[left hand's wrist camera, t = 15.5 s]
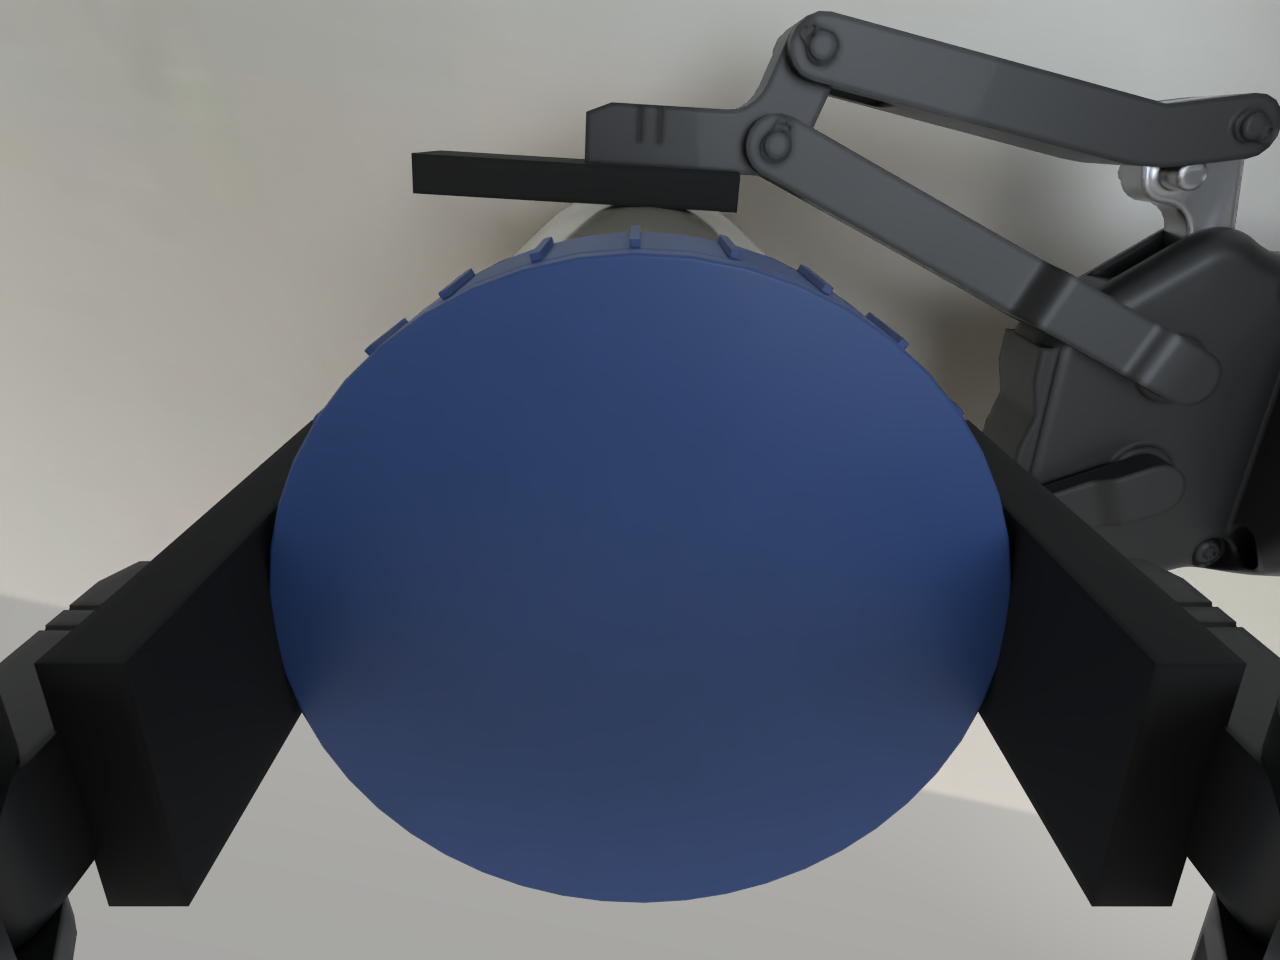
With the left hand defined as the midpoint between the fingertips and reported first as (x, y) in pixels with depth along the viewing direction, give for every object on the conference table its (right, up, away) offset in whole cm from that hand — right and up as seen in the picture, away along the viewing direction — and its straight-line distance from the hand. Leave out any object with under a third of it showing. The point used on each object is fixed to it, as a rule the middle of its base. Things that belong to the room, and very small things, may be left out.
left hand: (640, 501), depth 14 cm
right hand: (-5, +3, +6) cm, 8 cm away
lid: (0, -1, -3) cm, 4 cm away
